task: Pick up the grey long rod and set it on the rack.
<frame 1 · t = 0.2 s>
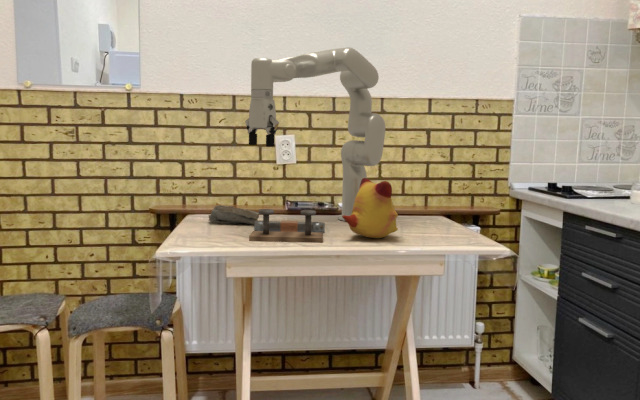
hand: (261, 145, 199), 30 cm above the table, tool pointing down, fingers open, 9 cm apart
toy: (366, 238, 196), on the table
rock: (233, 224, 218), on the table
grey long rod: (289, 232, 204), on the table
rack: (286, 238, 192), on the table
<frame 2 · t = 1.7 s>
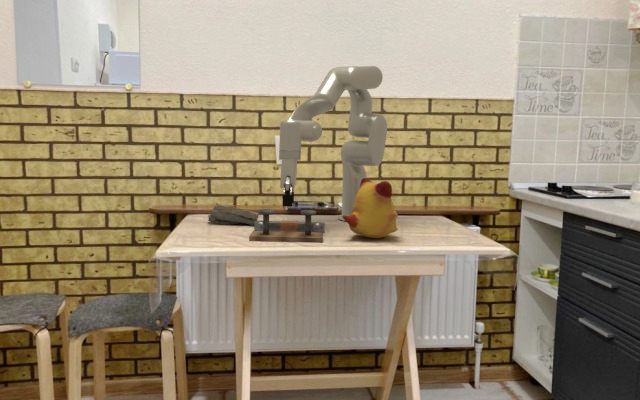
hand: (288, 204, 202), 10 cm above the table, tool pointing down, fingers open, 9 cm apart
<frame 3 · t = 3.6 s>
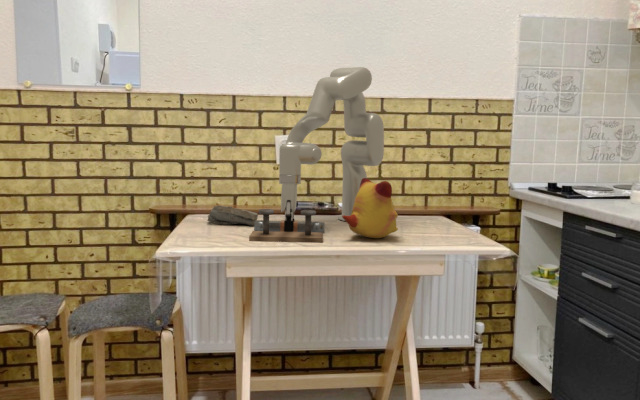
hand: (289, 230, 204), 1 cm above the table, tool pointing down, fingers closed on grey long rod, 4 cm apart
grey long rod: (289, 231, 204), on the table, touching gripper
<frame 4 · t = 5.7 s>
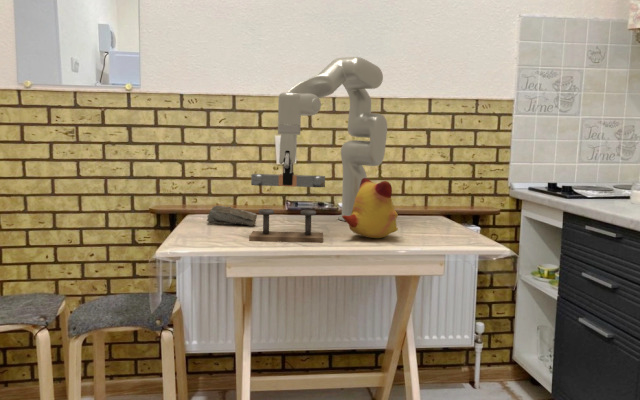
hand: (288, 183, 195), 18 cm above the table, tool pointing down, fingers closed on grey long rod, 4 cm apart
grey long rod: (288, 185, 195), point 17 cm above the table, touching gripper
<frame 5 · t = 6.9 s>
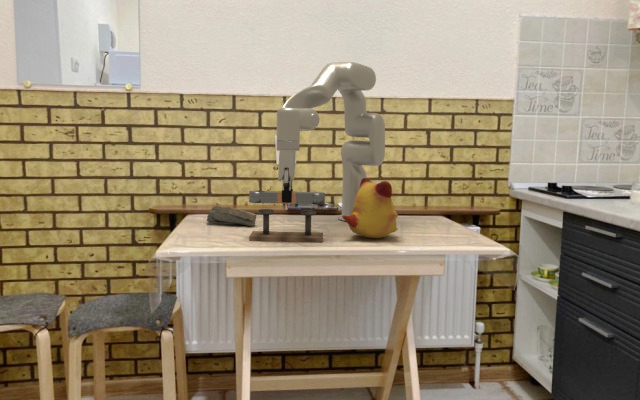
hand: (287, 200, 190), 13 cm above the table, tool pointing down, fingers closed on grey long rod, 4 cm apart
grey long rod: (287, 202, 190), point 12 cm above the table, touching gripper
when the fingers open (11 cm above the table, at t = 7.9 s): grey long rod stays where it is, resting on rack.
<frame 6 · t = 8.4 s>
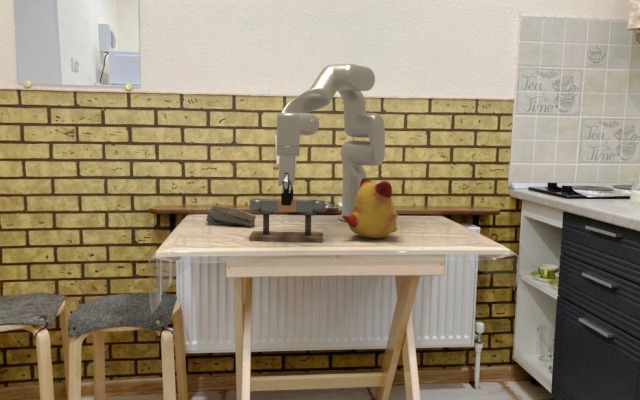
hand: (287, 203, 190), 12 cm above the table, tool pointing down, fingers open, 9 cm apart
grey long rod: (287, 210, 191), point 9 cm above the table, touching rack
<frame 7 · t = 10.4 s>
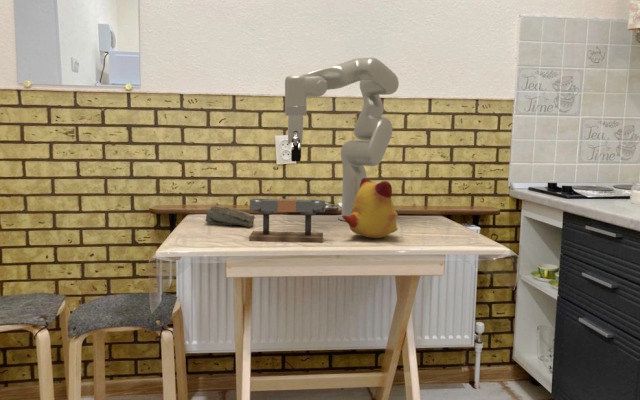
hand: (296, 160, 206), 25 cm above the table, tool pointing down, fingers open, 9 cm apart
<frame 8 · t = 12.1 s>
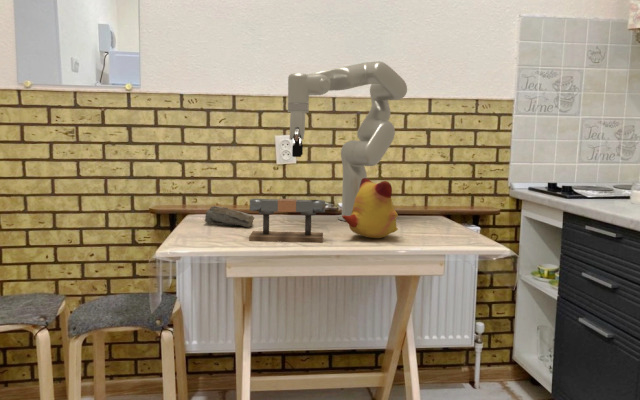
hand: (297, 155, 210), 26 cm above the table, tool pointing down, fingers open, 9 cm apart
at the end: grey long rod 0.1 cm off-centre on the rack, point 9.5 cm above the rack's base; grey long rod touching rack; the gripper is holding nothing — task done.
